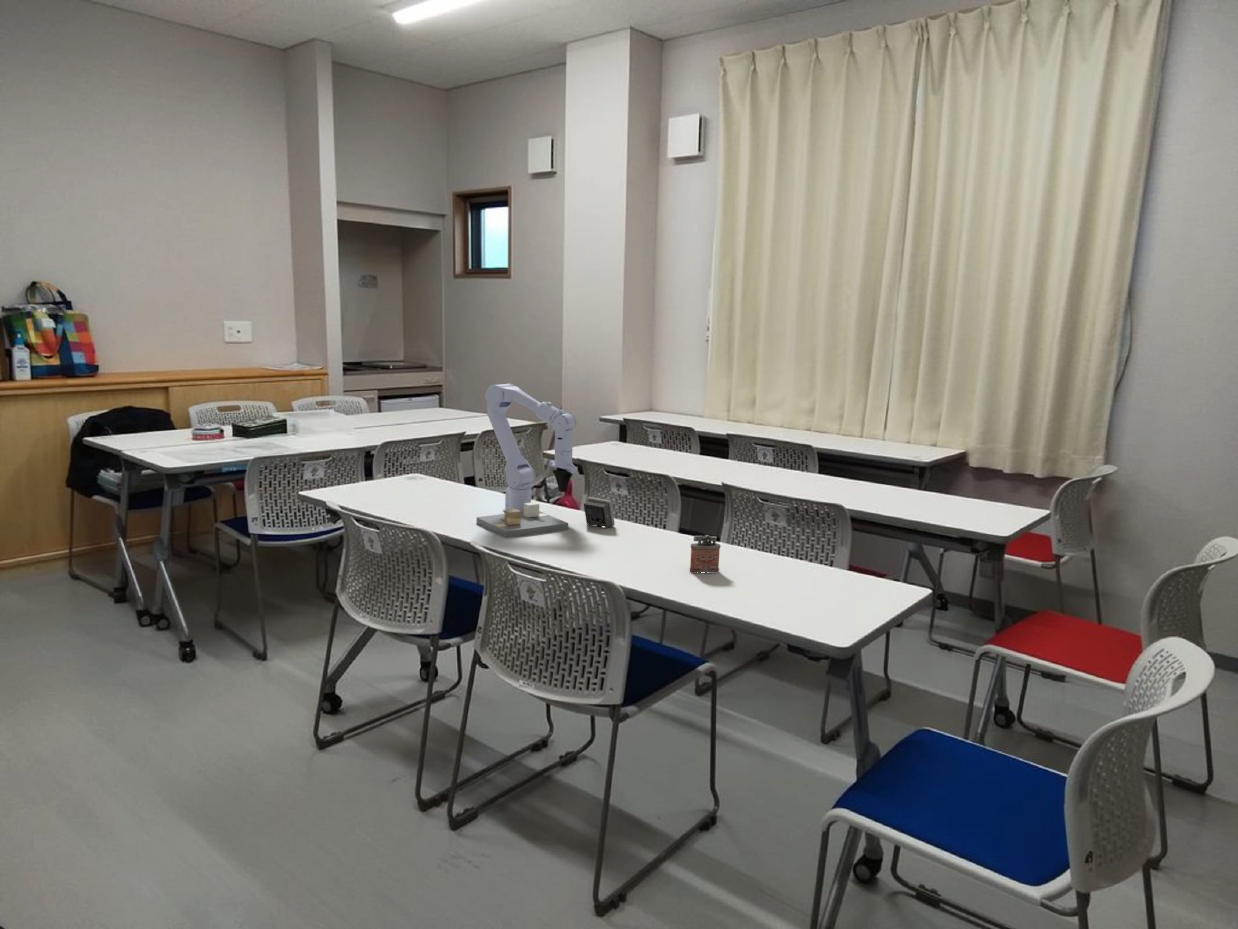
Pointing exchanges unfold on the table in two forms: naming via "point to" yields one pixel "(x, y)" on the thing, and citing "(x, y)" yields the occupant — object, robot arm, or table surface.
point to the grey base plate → (522, 525)
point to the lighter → (705, 554)
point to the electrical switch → (599, 512)
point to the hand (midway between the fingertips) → (562, 491)
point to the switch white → (531, 509)
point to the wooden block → (512, 517)
